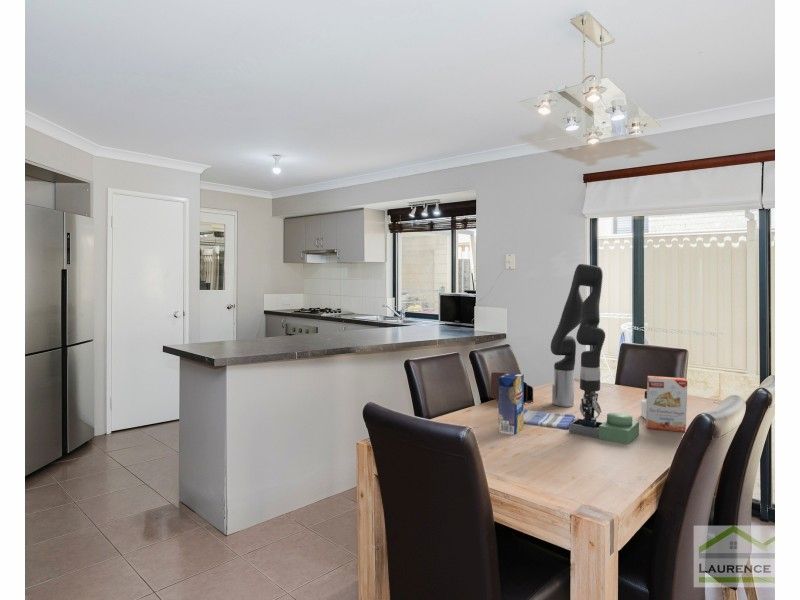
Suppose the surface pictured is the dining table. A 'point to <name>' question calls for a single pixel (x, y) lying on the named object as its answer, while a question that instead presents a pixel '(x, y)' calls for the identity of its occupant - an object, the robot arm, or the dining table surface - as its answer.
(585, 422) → the watch
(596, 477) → the dining table surface
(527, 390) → the letter holder
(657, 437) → the dining table surface
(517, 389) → the beverage box
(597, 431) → the frame
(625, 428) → the green block with dome
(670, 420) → the cracker box
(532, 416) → the dish towel
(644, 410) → the medicine bottle
